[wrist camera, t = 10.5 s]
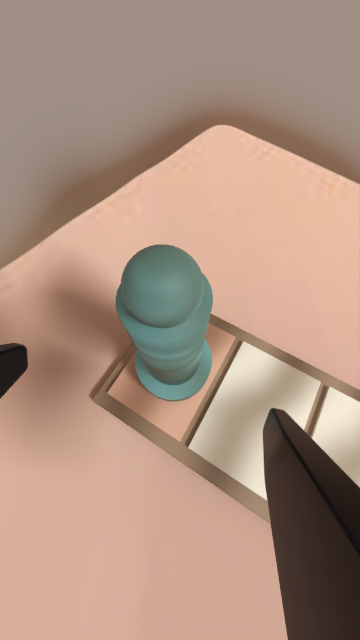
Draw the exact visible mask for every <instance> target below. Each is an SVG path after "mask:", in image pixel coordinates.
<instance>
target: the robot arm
mask: <svg viewBox="0 0 360 640" xmlns="http://www.w3.org/2000/svg"><path fill="white" fill-rule="evenodd" d="M27 366H28V360H27V348H26V347H25V346H24V345H21V344H17V343H10V344H4V345H0V398H1V397H2V396H3V395H4V394H5V393H6V392H7V391H8V390H9V388H10V387H11V386H12V385H13V384H14V383H15V382H16V381H17V380H18V379H19V378H20V376H21V375H22V374H23V373H24V372H25V371H26V369H27ZM263 457H264V479H265V488H266V495H267V502H268V508H269V515H270V522H271V529H272V535H273V542H274V549H275V556H276V562H277V569H278V576H279V583H280V589H281V596H282V603H283V610H284V616H285V623H286V630H287V637H288V640H360V487H359V486H358V485H357V484H356V483H355V482H354V481H353V480H352V479H351V478H350V477H349V476H348V475H347V474H346V473H345V472H344V471H343V470H342V469H341V468H340V467H339V466H338V465H337V464H336V463H335V462H334V461H333V460H332V459H331V458H330V456H329V455H328V454H327V453H326V452H325V451H324V450H323V449H322V448H321V447H320V446H319V445H318V444H317V443H316V442H315V441H314V440H313V439H312V438H311V437H310V436H309V435H308V434H307V433H306V432H305V431H304V430H303V429H302V428H301V427H300V426H299V425H298V424H297V423H296V422H295V421H294V420H293V419H292V418H291V417H290V416H289V415H288V414H287V412H285V411H284V410H281V409H277V408H271V409H270V410H269V413H268V416H267V418H266V421H265V424H264V427H263Z"/></svg>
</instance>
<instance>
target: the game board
mask: <svg viewBox="0 0 360 640" xmlns="http://www.w3.org/2000/svg"><path fill="white" fill-rule="evenodd" d="M205 340H206V341H207V343H208V345H209V347H210V350H211V355H212V367H211V371H210V374H209V376H208V379H207V381H206V383H205V385H204V386H203V387H202V389H201V390H200V391H199V392H198V393H196V394H195V395H194V396H192V397H190V398H188V399H186V400H182V401H165V400H162V399H160V398H157V397H156V396H154V395H153V394H151V393H150V392H149V391H148V390H147V389H146V388H145V386H144V385H143V384H142V383H141V381H140V379H139V377H138V375H137V372H136V368H135V356H136V351H137V348H136V346H135V345H134V343H133V344H132V345H131V347H130V348H129V350H128V351H127V352H126V354H125V355H124V357H123V358H122V359H121V361H120V362H119V364H118V365H117V366H116V368H115V369H114V371H113V372H112V373H111V375H110V376H109V378H108V379H107V380H106V382H105V383H104V385H103V386H102V387H101V389H100V390H99V392H98V393H97V394H96V396H95V397H94V399H93V401H94V402H96V403H97V404H98V405H100V406H101V407H103V408H104V409H106V410H107V411H109V412H110V413H111V414H113V415H114V416H116V417H117V418H119V419H120V420H121V421H123V422H124V423H126V424H127V425H129V426H130V427H132V428H133V429H134V430H136V431H137V432H139V433H140V434H142V435H143V436H145V437H146V438H147V439H149V440H150V441H152V442H153V443H155V444H156V445H158V446H159V447H160V448H162V449H163V450H165V451H166V452H168V453H169V454H171V455H172V456H173V457H175V458H176V459H178V460H179V461H181V462H182V463H184V464H185V465H186V466H188V467H189V468H191V469H192V470H194V471H195V472H197V473H198V474H199V475H201V476H202V477H204V478H205V479H207V480H208V481H209V482H211V483H212V484H214V485H215V486H217V487H218V488H220V489H221V490H222V491H224V492H225V493H227V494H228V495H230V496H231V497H233V498H234V499H235V500H237V501H238V502H240V503H241V504H243V505H244V506H246V507H247V508H248V509H250V510H251V511H253V512H254V513H256V514H257V515H259V516H260V517H261V518H263V519H264V520H266V521H267V522H269V523H270V524H271V522H270V515H269V508H268V502H267V495H266V488H265V479H264V457H263V427H264V424H265V421H266V418H267V416H268V413H269V410H270V409H271V408H277V409H281V410H284V411H285V412H287V414H288V415H289V416H290V417H291V418H292V419H293V420H294V421H295V422H296V423H297V424H298V425H299V426H300V427H301V428H302V429H303V430H304V431H305V432H306V433H307V434H308V435H309V436H310V437H311V438H312V439H313V440H314V441H315V442H316V443H317V444H318V445H319V446H320V447H321V448H322V449H323V450H324V451H325V452H326V453H327V454H328V455H329V456H330V458H331V459H332V460H333V461H334V462H335V463H336V464H337V465H338V466H339V467H340V468H341V469H342V470H343V471H344V472H345V473H346V474H347V475H348V476H349V477H350V478H351V479H352V480H353V481H354V482H355V483H356V484H357V485H358V486H359V487H360V390H358V389H356V388H354V387H352V386H350V385H349V384H347V383H345V382H343V381H341V380H339V379H337V378H335V377H333V376H331V375H329V374H327V373H325V372H323V371H321V370H319V369H317V368H315V367H314V366H312V365H310V364H308V363H306V362H304V361H302V360H300V359H298V358H296V357H294V356H292V355H290V354H288V353H286V352H284V351H282V350H280V349H279V348H277V347H275V346H273V345H271V344H269V343H267V342H265V341H263V340H261V339H259V338H257V337H255V336H253V335H251V334H249V333H247V332H245V331H244V330H242V329H240V328H238V327H236V326H234V325H232V324H230V323H228V322H226V321H224V320H222V319H220V318H218V317H216V316H214V315H212V314H210V318H209V322H208V327H207V331H206V336H205Z"/></svg>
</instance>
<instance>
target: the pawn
mask: <svg viewBox="0 0 360 640" xmlns="http://www.w3.org/2000/svg"><path fill="white" fill-rule="evenodd" d="M212 303H213V295H212V290H211V287H210V284H209V282H208V280H207V278H206V277H205V276H204V274H203V273H202V272H201V270H200V268H199V266H198V264H197V263H196V262H195V260H194V259H193V258H192V257H191V256H190V255H189V254H188V253H186V252H185V251H183V250H182V249H180V248H177V247H174V246H171V245H153V246H150V247H147V248H144V249H142V250H141V251H139V252H138V253H136V254H135V255H134V256H133V257H132V258H131V259H130V260H129V262H128V263H127V265H126V267H125V269H124V271H123V274H122V278H121V284H120V286H119V288H118V291H117V295H116V309H117V313H118V316H119V318H120V320H121V322H122V324H123V325H124V327H125V329H126V331H127V332H128V334H129V336H130V338H131V339H132V341H133V343H134V345H135V346H136V348H137V351H136V356H135V368H136V372H137V375H138V377H139V379H140V381H141V383H142V384H143V385H144V386H145V388H146V389H147V390H148V391H149V392H150V393H151V394H153V395H154V396H156V397H157V398H160V399H162V400H165V401H182V400H186V399H188V398H190V397H192V396H194V395H195V394H196V393H198V392H199V391H200V390H201V389H202V387H203V386H204V385H205V383H206V381H207V379H208V376H209V374H210V371H211V367H212V355H211V350H210V347H209V345H208V343H207V341H206V340H205V336H206V331H207V327H208V322H209V318H210V313H211V309H212Z"/></svg>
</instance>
